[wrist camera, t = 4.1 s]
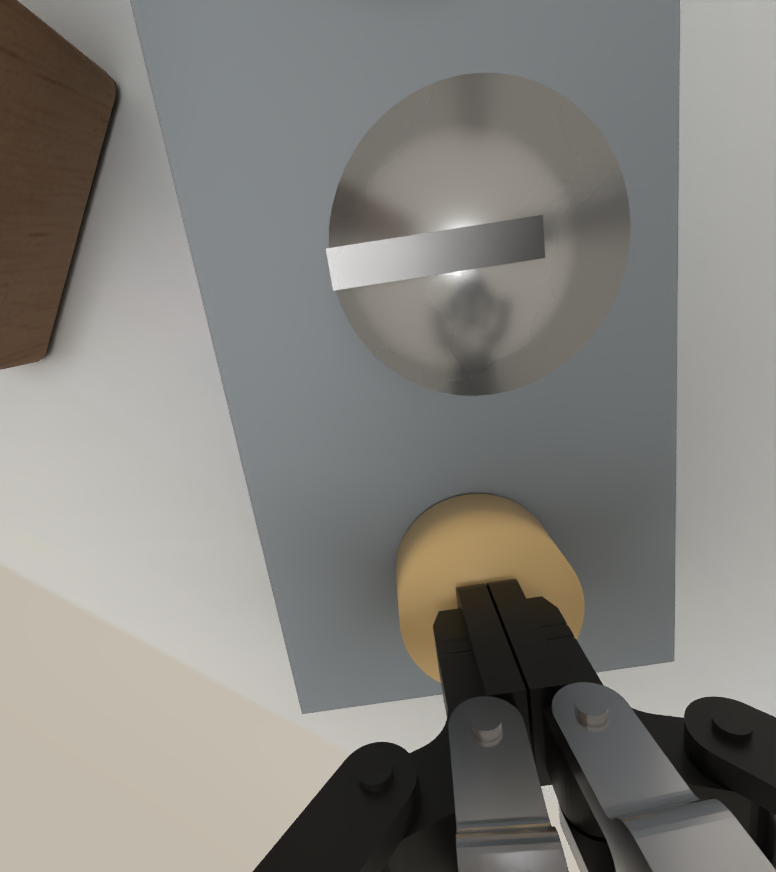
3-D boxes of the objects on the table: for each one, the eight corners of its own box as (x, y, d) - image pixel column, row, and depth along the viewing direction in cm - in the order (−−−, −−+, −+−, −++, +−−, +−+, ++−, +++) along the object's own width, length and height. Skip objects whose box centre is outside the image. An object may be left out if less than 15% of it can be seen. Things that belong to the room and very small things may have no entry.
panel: (592, -300, 13) (685, -550, 9) (616, 590, 20) (674, 661, 16) (127, -220, 13) (26, -432, 9) (315, 633, 20) (302, 714, 16)
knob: (512, 443, 18) (580, 519, 12) (521, 559, 19) (588, 680, 13) (382, 462, 18) (386, 547, 12) (400, 576, 19) (412, 704, 13)
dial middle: (512, 158, 13) (637, 38, 7) (525, 338, 14) (640, 376, 8) (334, 186, 13) (299, 93, 7) (363, 363, 14) (354, 418, 8)
